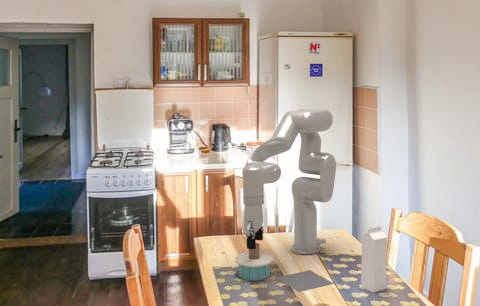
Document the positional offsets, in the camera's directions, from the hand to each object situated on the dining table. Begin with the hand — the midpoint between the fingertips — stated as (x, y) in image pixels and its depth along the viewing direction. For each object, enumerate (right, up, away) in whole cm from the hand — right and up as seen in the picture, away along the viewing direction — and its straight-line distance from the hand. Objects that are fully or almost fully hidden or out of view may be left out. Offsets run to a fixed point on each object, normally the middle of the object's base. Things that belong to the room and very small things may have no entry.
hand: (255, 244), depth 191 cm
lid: (0, -6, 0) cm, 6 cm away
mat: (+18, -13, -5) cm, 22 cm away
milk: (+41, -13, -13) cm, 45 cm away
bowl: (0, -12, +1) cm, 12 cm away
